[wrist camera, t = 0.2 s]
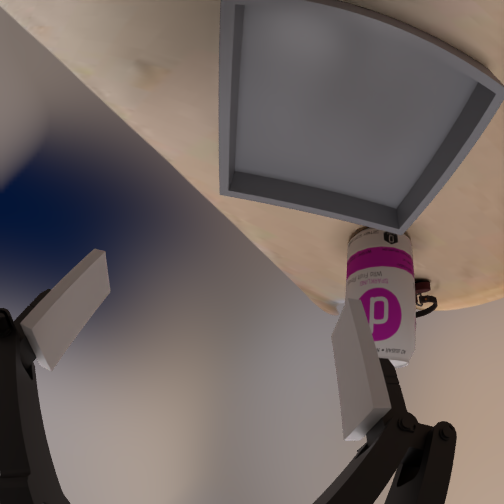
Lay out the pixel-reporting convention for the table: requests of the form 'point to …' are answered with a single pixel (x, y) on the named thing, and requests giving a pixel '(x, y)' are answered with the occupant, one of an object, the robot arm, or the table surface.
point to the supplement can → (385, 290)
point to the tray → (343, 110)
